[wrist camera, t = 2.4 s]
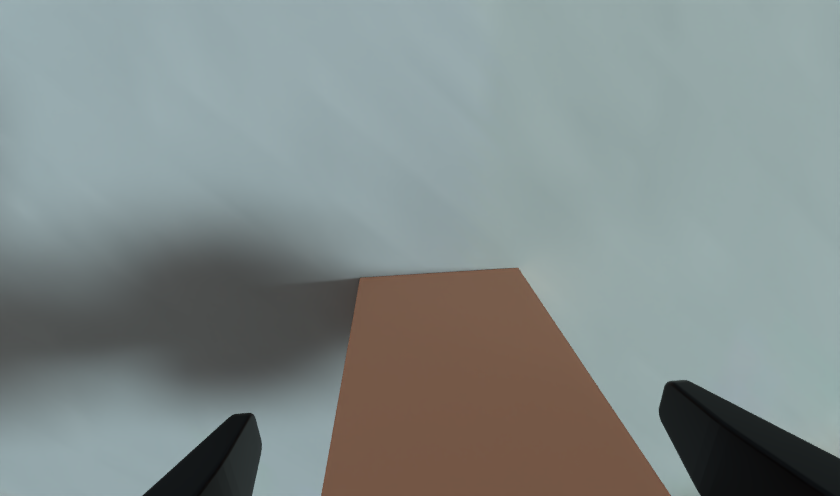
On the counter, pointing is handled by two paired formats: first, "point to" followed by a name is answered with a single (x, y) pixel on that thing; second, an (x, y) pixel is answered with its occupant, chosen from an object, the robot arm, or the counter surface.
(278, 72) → the counter surface
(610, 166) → the counter surface
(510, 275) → the terracotta domino
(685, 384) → the robot arm
